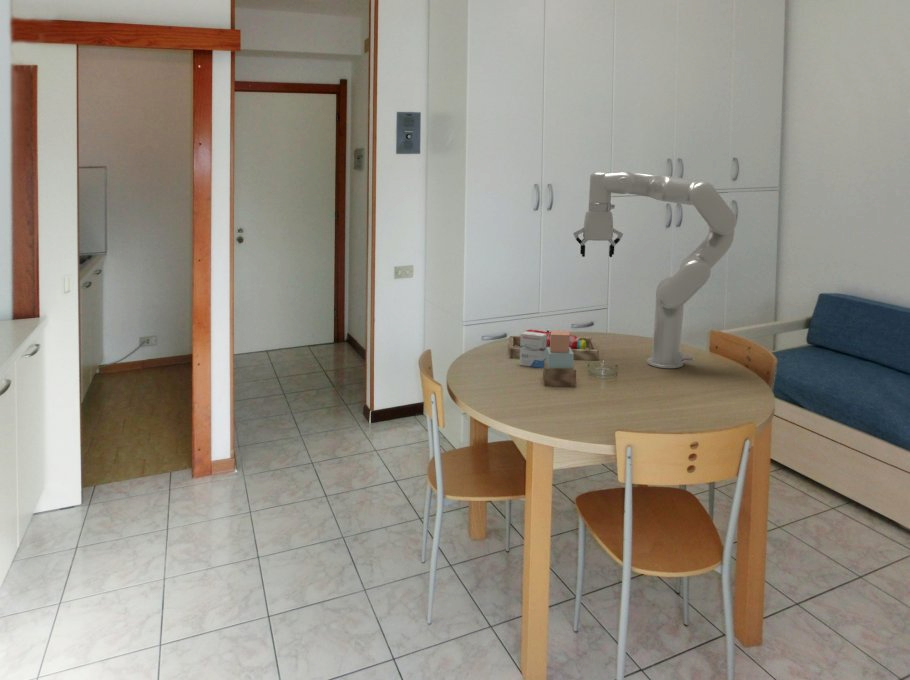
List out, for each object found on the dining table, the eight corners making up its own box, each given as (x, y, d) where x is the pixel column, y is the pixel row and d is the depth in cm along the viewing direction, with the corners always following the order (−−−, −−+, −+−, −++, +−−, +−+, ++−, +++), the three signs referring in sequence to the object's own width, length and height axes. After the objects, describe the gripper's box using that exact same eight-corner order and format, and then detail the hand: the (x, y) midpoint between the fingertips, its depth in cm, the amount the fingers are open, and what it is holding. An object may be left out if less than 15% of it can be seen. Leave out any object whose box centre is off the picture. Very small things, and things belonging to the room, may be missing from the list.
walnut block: (572, 378, 242) (573, 361, 241) (575, 387, 233) (576, 369, 231) (543, 377, 243) (543, 360, 242) (544, 386, 234) (545, 368, 232)
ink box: (546, 364, 257) (547, 333, 254) (541, 368, 253) (543, 336, 250) (523, 361, 261) (524, 330, 258) (519, 365, 256) (520, 333, 254)
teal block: (569, 361, 240) (570, 347, 239) (573, 368, 233) (573, 353, 231) (545, 361, 240) (546, 347, 239) (548, 368, 233) (549, 353, 231)
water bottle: (531, 327, 285) (591, 334, 275) (529, 347, 286) (589, 355, 275) (520, 328, 275) (583, 336, 264) (518, 349, 275) (580, 357, 265)
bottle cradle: (592, 346, 282) (592, 337, 281) (598, 360, 263) (598, 350, 262) (509, 344, 284) (509, 335, 283) (509, 358, 265) (509, 348, 264)
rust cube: (568, 348, 238) (568, 330, 237) (569, 353, 232) (569, 335, 231) (549, 347, 239) (550, 330, 237) (550, 352, 233) (551, 334, 231)
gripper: (622, 207, 253) (619, 255, 257) (573, 207, 254) (571, 254, 259) (626, 209, 246) (623, 258, 250) (575, 208, 247) (573, 257, 251)
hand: (596, 256), depth 254 cm, fingers open, 9 cm apart
